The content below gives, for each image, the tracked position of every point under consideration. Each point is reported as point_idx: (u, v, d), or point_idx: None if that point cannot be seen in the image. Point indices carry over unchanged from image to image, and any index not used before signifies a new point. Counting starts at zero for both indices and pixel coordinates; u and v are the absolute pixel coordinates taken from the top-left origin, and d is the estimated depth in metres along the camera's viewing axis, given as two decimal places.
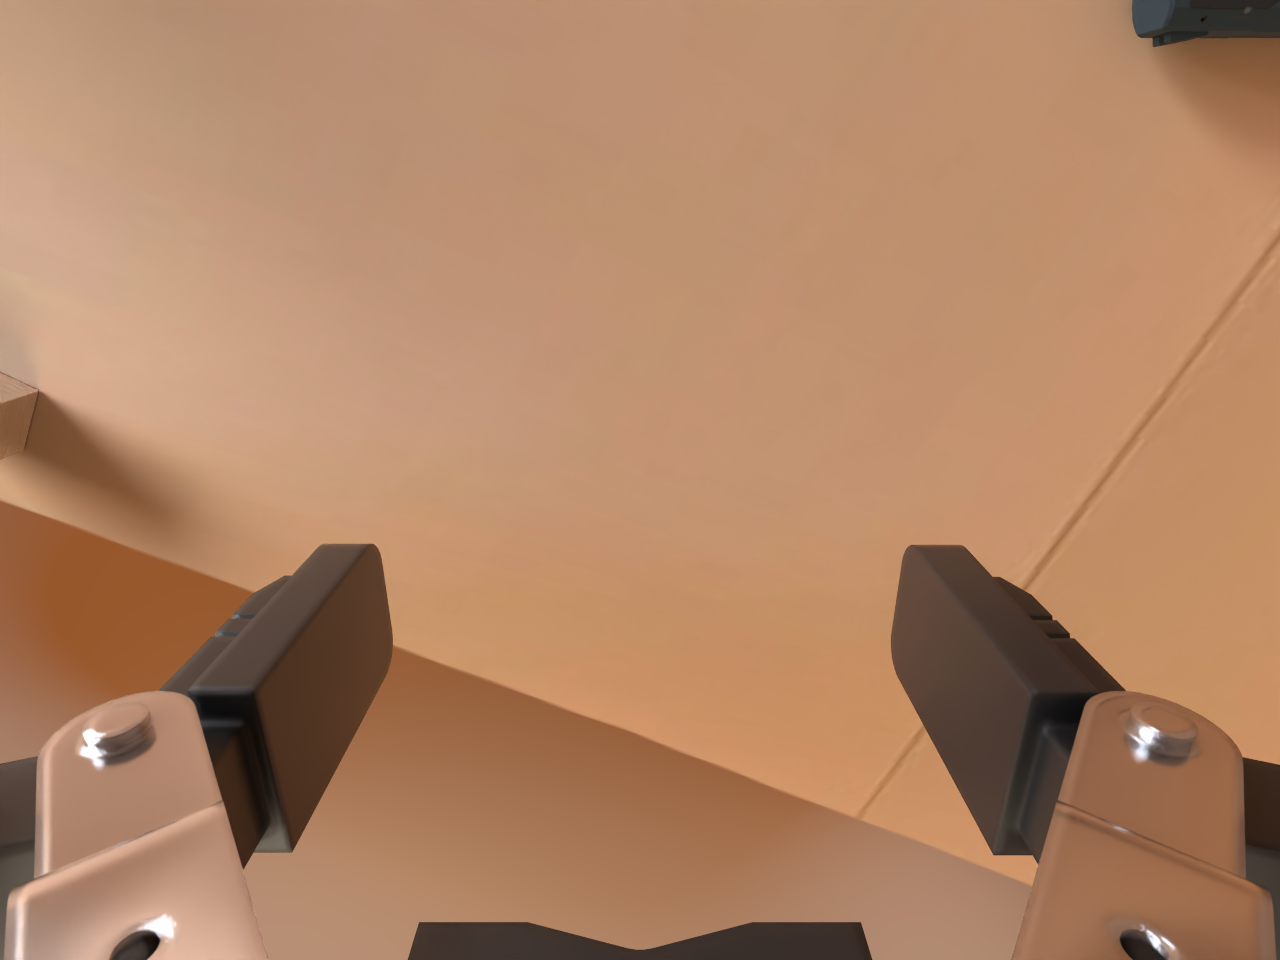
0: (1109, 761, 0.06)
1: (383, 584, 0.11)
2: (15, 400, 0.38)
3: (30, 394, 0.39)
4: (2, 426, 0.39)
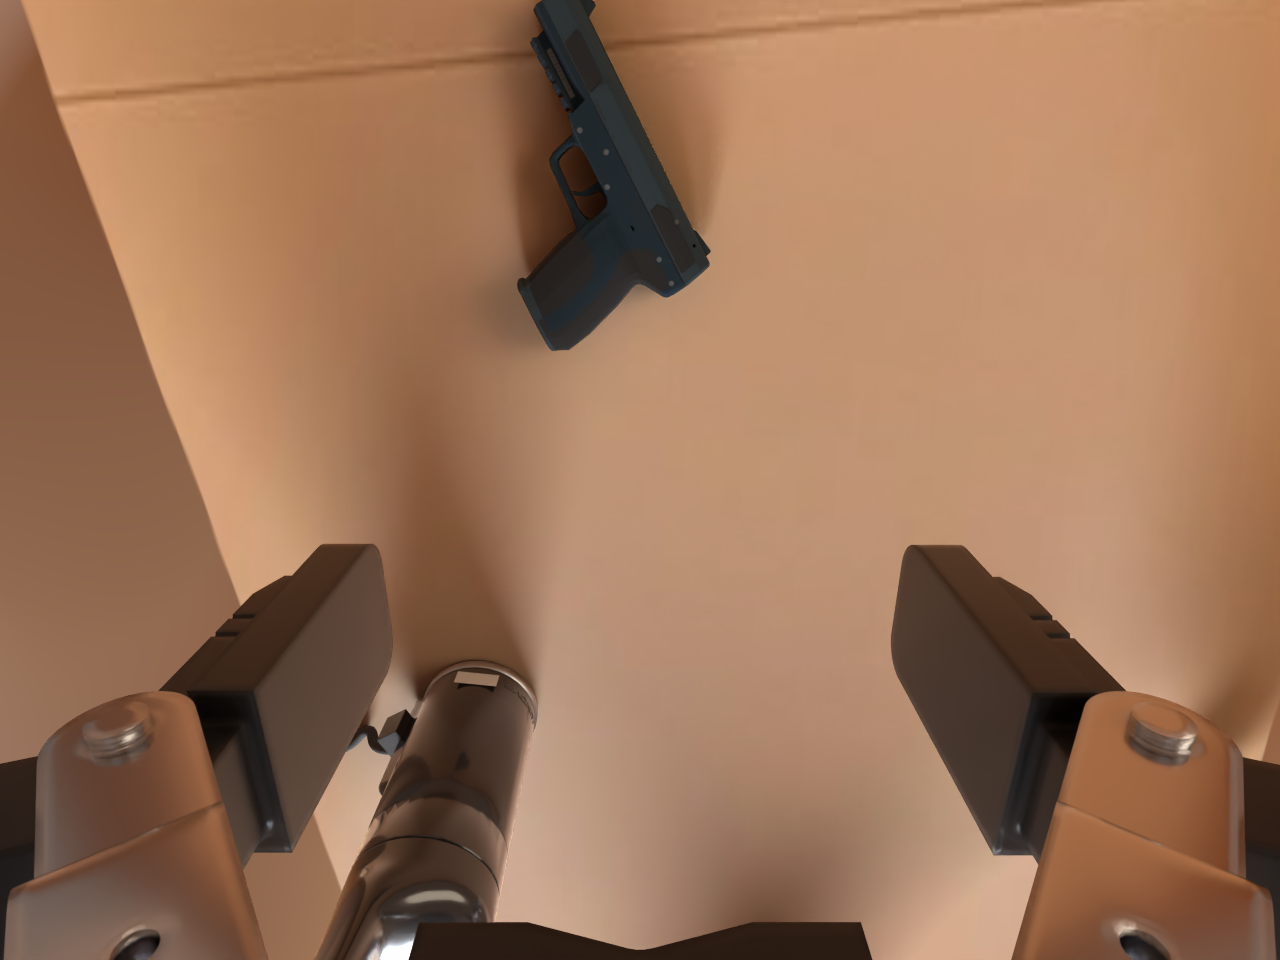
0: (1109, 761, 0.06)
1: (383, 584, 0.11)
2: None
3: None
4: None
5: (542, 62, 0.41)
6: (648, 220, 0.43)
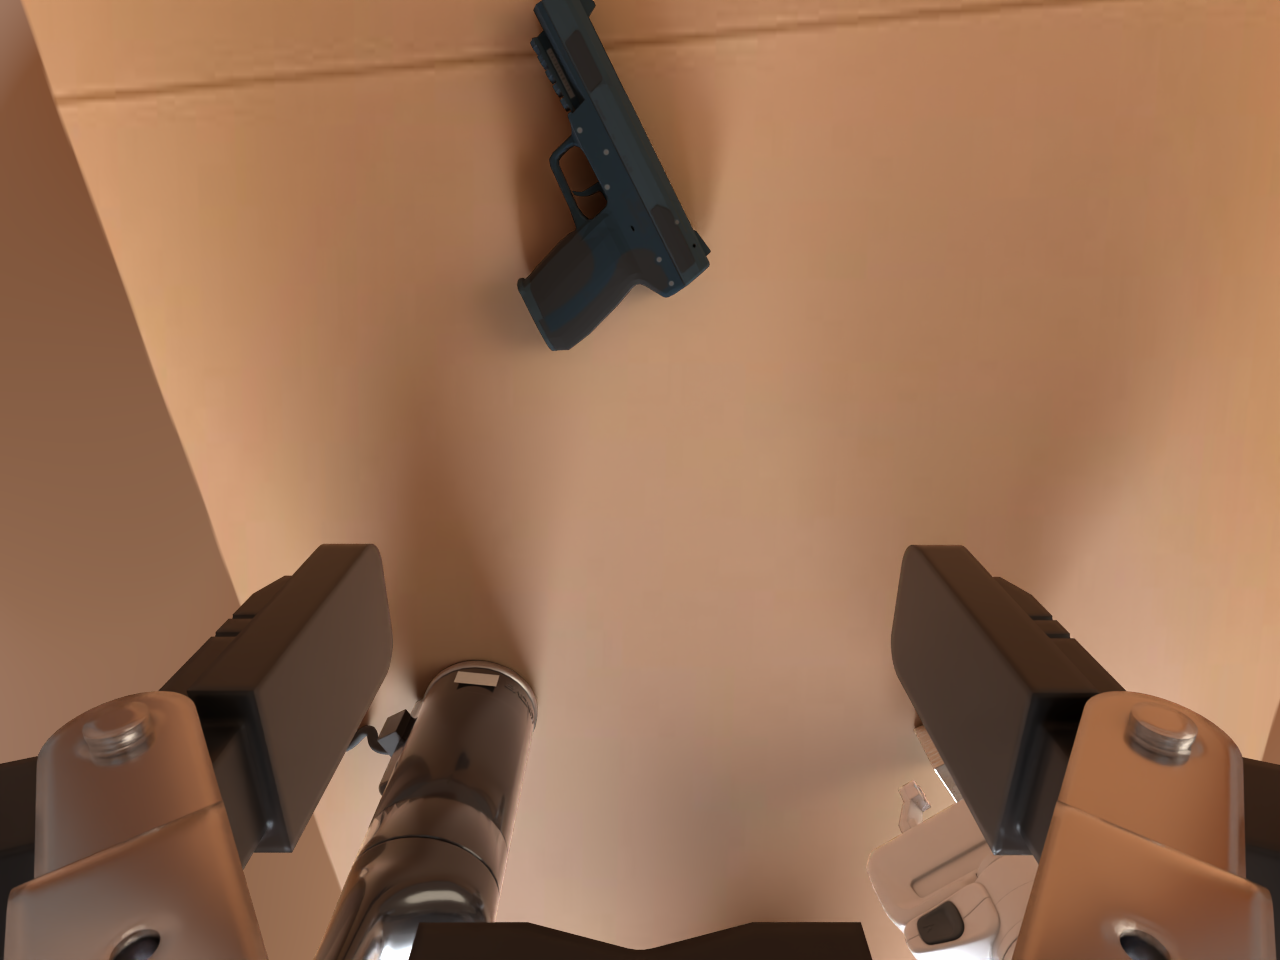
0: (1109, 761, 0.06)
1: (383, 584, 0.11)
2: (921, 741, 0.59)
3: (917, 733, 0.60)
4: None
5: (542, 62, 0.41)
6: (648, 220, 0.43)
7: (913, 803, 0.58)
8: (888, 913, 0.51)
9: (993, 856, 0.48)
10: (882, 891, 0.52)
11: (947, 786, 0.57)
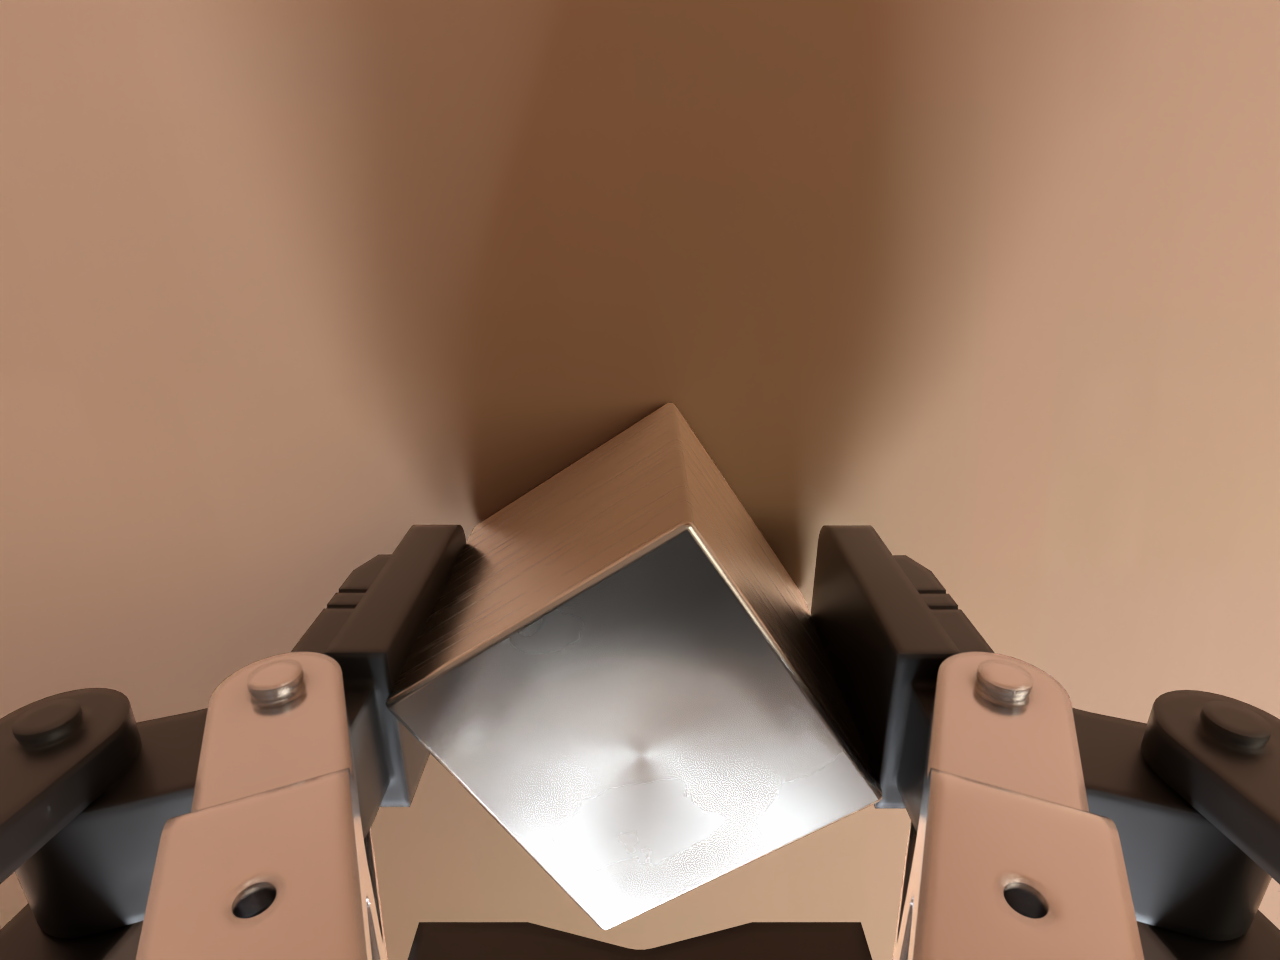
0: (965, 720, 0.07)
1: None
2: (454, 569, 0.11)
3: (468, 540, 0.12)
4: (532, 531, 0.10)
5: None
6: None
7: None
8: None
9: None
10: None
11: (512, 828, 0.09)
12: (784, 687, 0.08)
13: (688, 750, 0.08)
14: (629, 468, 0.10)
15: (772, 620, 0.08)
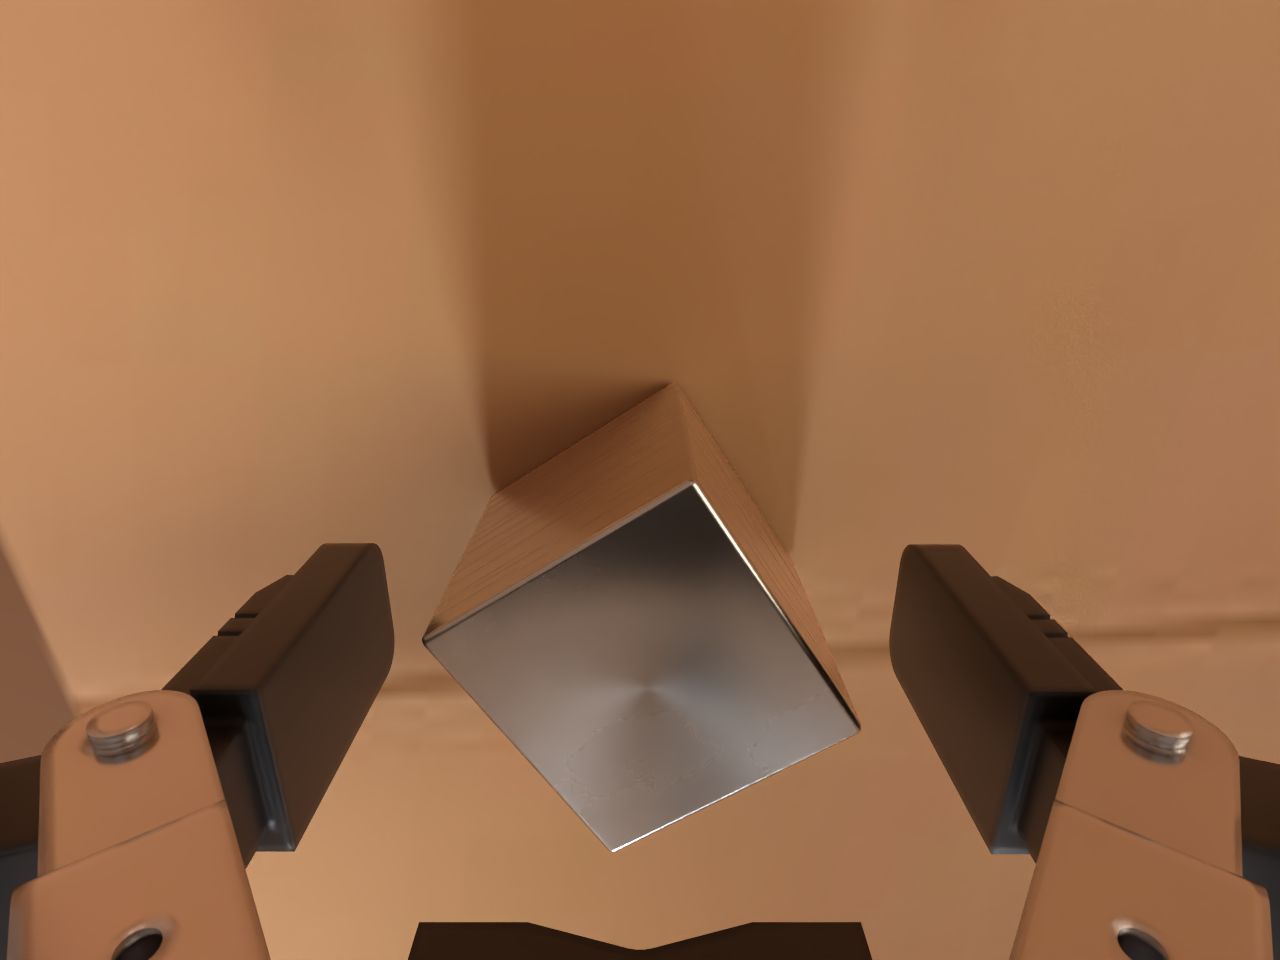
0: (1106, 760, 0.06)
1: (385, 584, 0.11)
2: (476, 532, 0.12)
3: (486, 507, 0.13)
4: (549, 495, 0.11)
5: None
6: None
7: None
8: None
9: None
10: None
11: (532, 755, 0.10)
12: (774, 628, 0.09)
13: (689, 686, 0.09)
14: (637, 439, 0.11)
15: (765, 571, 0.09)
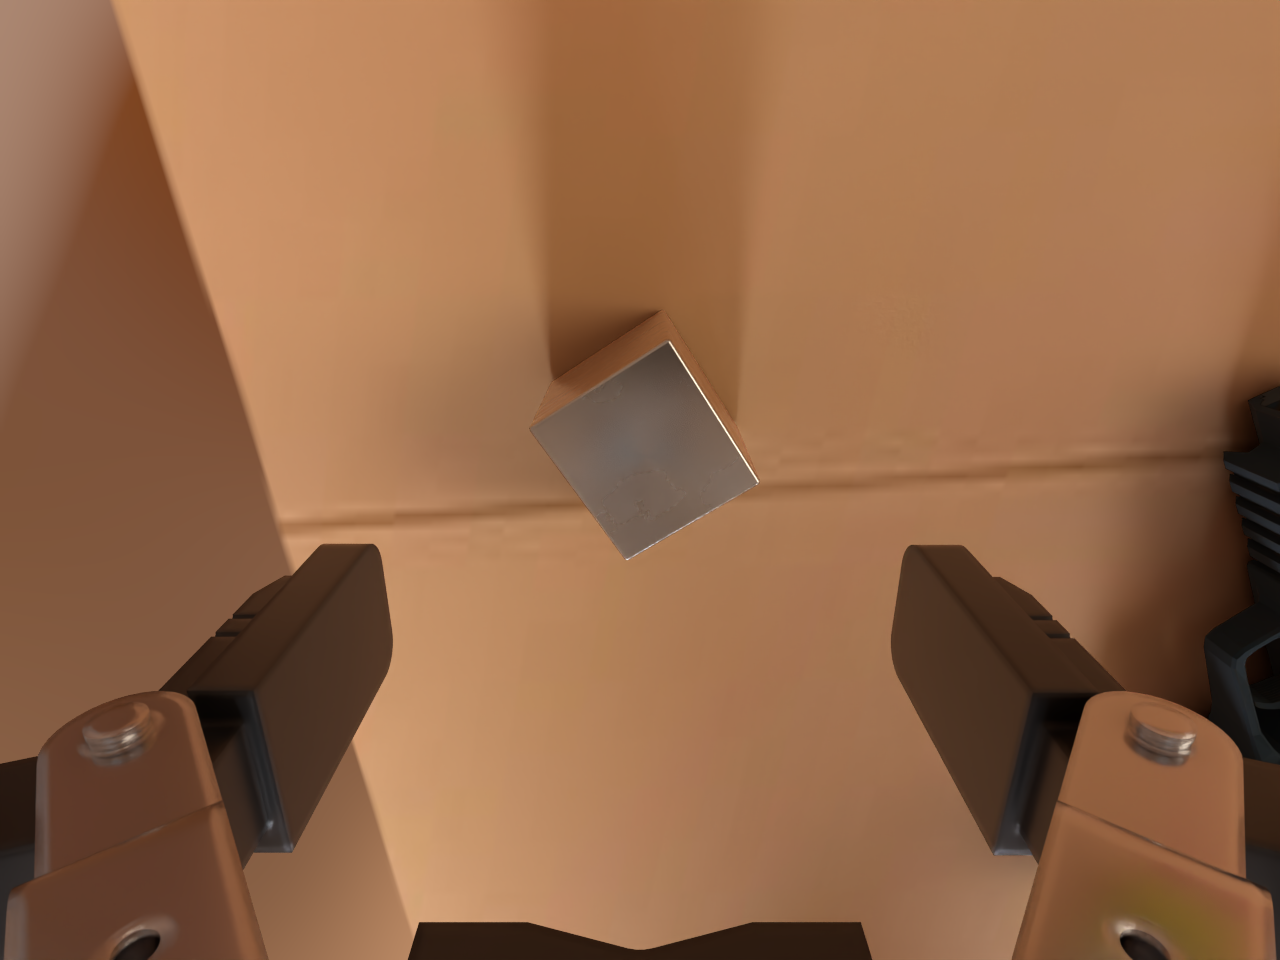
0: (1109, 761, 0.06)
1: (383, 584, 0.11)
2: (547, 394, 0.20)
3: None
4: (591, 368, 0.19)
5: None
6: None
7: None
8: None
9: None
10: None
11: (584, 497, 0.18)
12: (711, 420, 0.17)
13: (668, 454, 0.18)
14: (641, 335, 0.19)
15: (708, 395, 0.18)
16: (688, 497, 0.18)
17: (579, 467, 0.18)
